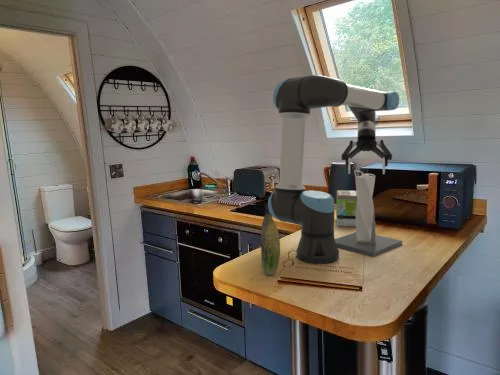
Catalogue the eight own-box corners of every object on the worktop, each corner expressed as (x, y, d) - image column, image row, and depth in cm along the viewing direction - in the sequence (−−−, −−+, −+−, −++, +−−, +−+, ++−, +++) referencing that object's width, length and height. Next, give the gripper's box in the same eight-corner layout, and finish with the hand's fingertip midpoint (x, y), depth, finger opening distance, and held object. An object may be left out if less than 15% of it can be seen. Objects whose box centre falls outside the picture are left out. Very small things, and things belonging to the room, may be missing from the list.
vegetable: (280, 271, 127) (279, 212, 123) (281, 278, 120) (280, 216, 117) (261, 271, 127) (260, 212, 124) (261, 279, 121) (260, 217, 118)
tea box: (358, 226, 178) (359, 195, 176) (336, 226, 180) (336, 195, 178) (356, 218, 193) (357, 189, 191) (336, 218, 195) (336, 189, 193)
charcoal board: (373, 256, 138) (373, 252, 138) (328, 244, 153) (328, 241, 153) (402, 244, 150) (402, 240, 150) (358, 234, 166) (358, 231, 165)
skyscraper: (353, 243, 149) (353, 171, 145) (353, 237, 157) (354, 168, 152) (375, 244, 147) (377, 171, 142) (375, 238, 154) (376, 168, 150)
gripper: (396, 139, 168) (398, 177, 157) (337, 140, 175) (335, 177, 164) (397, 126, 163) (399, 166, 151) (337, 128, 170) (334, 166, 158)
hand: (366, 172), depth 157 cm, fingers open, 13 cm apart
